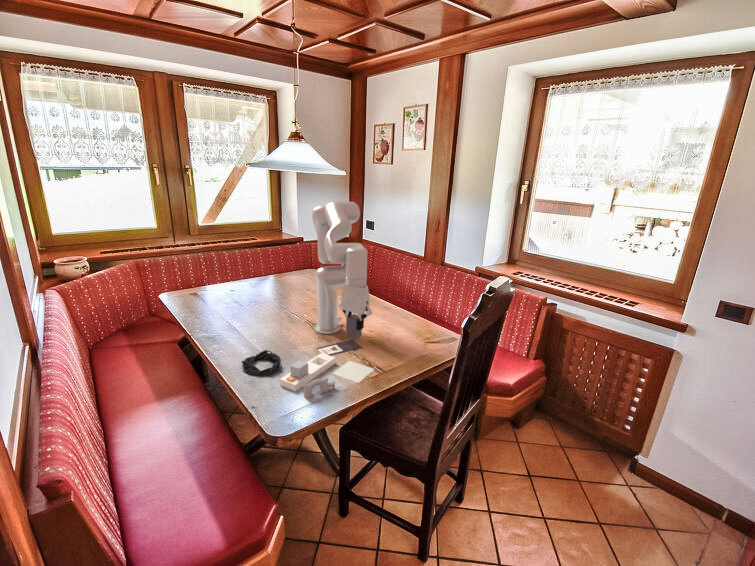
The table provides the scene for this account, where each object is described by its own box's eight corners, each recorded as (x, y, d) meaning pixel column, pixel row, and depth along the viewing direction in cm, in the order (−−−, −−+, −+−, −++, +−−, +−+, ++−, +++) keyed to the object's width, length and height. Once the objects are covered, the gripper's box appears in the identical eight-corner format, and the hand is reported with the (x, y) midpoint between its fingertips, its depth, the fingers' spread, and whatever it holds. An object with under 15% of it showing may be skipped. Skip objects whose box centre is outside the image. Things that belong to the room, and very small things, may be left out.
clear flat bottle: (333, 387, 135) (333, 373, 133) (335, 389, 134) (336, 375, 132) (302, 397, 128) (302, 382, 127) (304, 400, 127) (304, 384, 125)
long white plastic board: (321, 360, 154) (321, 351, 153) (335, 365, 151) (335, 356, 150) (280, 387, 134) (279, 377, 133) (295, 393, 131) (294, 383, 130)
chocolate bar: (362, 347, 165) (325, 356, 156) (362, 349, 166) (325, 358, 156) (352, 339, 172) (316, 348, 163) (351, 341, 173) (316, 350, 163)
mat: (349, 361, 154) (349, 360, 153) (374, 369, 148) (374, 369, 148) (332, 374, 143) (332, 373, 143) (358, 383, 138) (358, 382, 138)
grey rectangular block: (353, 333, 144) (353, 313, 142) (362, 335, 142) (362, 316, 140) (346, 337, 140) (346, 317, 137) (354, 340, 138) (355, 320, 136)
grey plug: (300, 375, 141) (299, 360, 139) (308, 378, 139) (308, 363, 137) (291, 381, 136) (290, 365, 135) (299, 384, 135) (299, 368, 133)
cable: (285, 374, 142) (284, 364, 141) (247, 383, 136) (246, 372, 135) (274, 355, 157) (274, 345, 156) (239, 361, 150) (238, 352, 149)
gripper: (331, 279, 136) (330, 326, 141) (370, 288, 128) (368, 336, 133) (343, 275, 142) (342, 319, 147) (381, 282, 134) (379, 329, 139)
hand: (354, 327), depth 140 cm, fingers closed on grey rectangular block, 4 cm apart
